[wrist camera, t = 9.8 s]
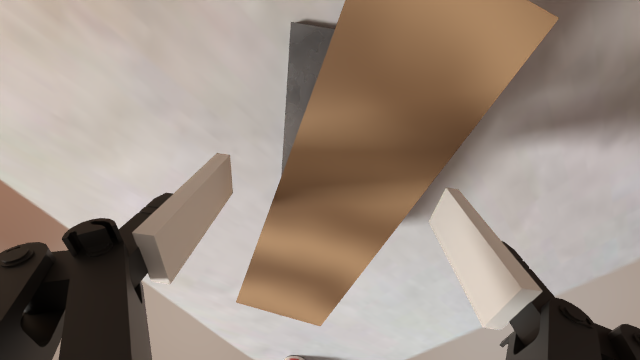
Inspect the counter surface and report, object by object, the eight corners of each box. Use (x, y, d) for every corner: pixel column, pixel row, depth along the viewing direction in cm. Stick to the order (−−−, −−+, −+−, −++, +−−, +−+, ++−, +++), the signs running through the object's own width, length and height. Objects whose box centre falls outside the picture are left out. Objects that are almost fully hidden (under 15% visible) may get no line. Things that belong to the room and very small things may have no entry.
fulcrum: (293, 23, 18) (271, 11, 12) (418, 43, 18) (458, 41, 12) (281, 205, 27) (265, 251, 21) (364, 218, 27) (372, 266, 21)
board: (362, -38, 11) (376, -86, 7) (485, 27, 12) (558, 18, 8) (254, 256, 21) (235, 302, 18) (323, 277, 22) (320, 326, 19)
